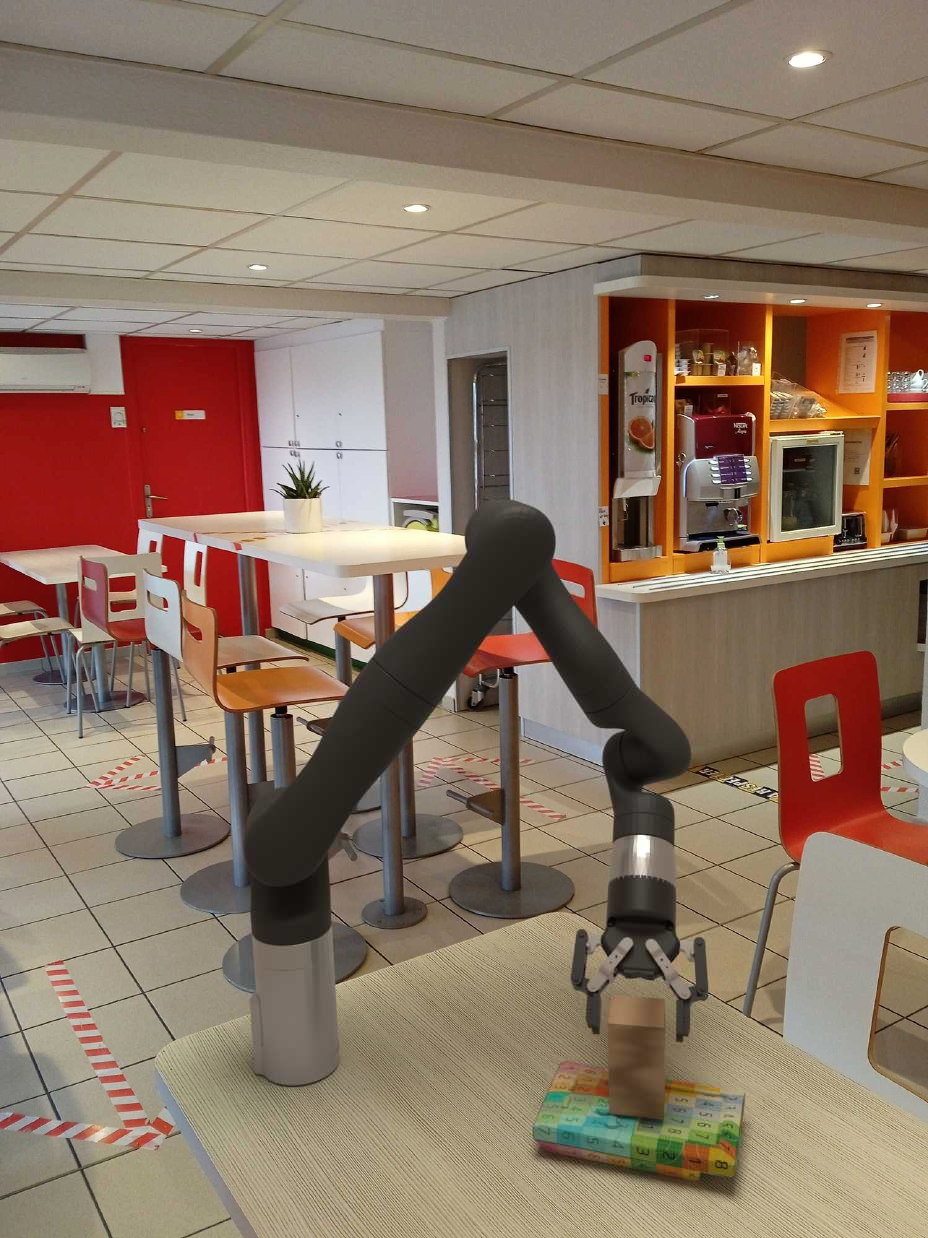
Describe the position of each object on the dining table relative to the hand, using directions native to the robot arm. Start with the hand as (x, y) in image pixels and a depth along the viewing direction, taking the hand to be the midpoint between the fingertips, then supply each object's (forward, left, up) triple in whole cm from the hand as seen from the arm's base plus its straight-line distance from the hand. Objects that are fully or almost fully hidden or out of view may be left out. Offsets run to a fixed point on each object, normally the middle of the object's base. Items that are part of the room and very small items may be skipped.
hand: (637, 1036), depth 106 cm
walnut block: (0, 0, -7) cm, 7 cm away
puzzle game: (0, 0, -12) cm, 12 cm away
